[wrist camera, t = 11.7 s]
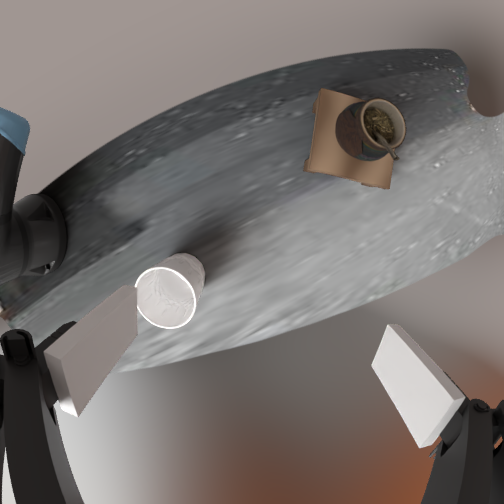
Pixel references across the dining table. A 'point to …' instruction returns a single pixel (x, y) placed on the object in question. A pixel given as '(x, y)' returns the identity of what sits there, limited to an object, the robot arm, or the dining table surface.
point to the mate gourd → (370, 129)
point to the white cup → (171, 290)
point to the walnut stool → (332, 155)
